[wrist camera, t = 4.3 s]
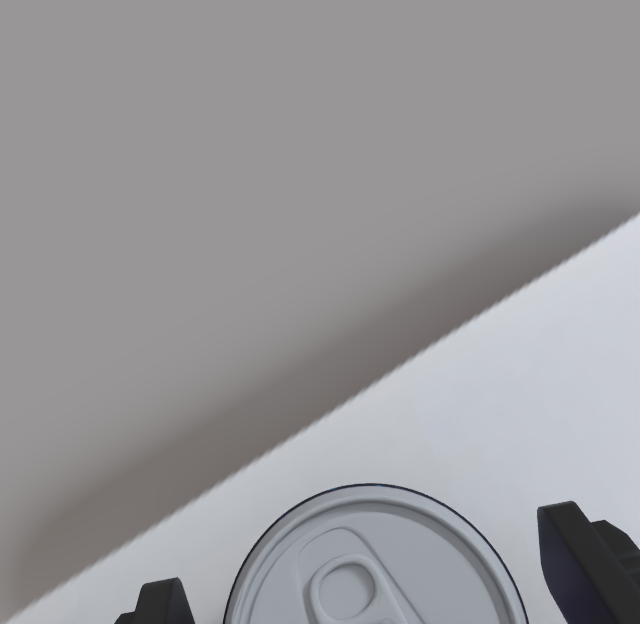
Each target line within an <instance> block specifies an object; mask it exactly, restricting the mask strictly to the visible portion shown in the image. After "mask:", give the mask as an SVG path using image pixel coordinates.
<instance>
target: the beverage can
mask: <svg viewBox="0 0 640 624" xmlns="http://www.w3.org/2000/svg"><path fill="white" fill-rule="evenodd" d="M223 624H529V621H528V617H527V614H526V610H525V607H524V604H523V601H522V599H521V596H520V593H519V591H518V588H517V586H516V584H515V582H514V580H513V578H512V576H511V574H510V572H509V570H508V569H507V567H506V565H505V564H504V562H503V561H502V559H501V557H500V556H499V554H498V553H497V552H496V550H495V549H494V548H493V546H492V545H491V544H490V543H489V542H488V540H487V539H486V538H485V537H484V536H483V535H482V534H481V533H480V532H479V531H478V530H477V529H476V528H475V527H474V526H473V525H472V524H471V523H470V522H469V521H468V520H466V519H465V518H464V517H463V516H461V515H460V514H459V513H457V512H456V511H455V510H453V509H452V508H450V507H448V506H447V505H445V504H444V503H442V502H440V501H438V500H436V499H434V498H432V497H430V496H428V495H425V494H423V493H420V492H417V491H415V490H411V489H408V488H404V487H400V486H394V485H388V484H375V483H365V484H353V485H346V486H342V487H337V488H333V489H330V490H327V491H324V492H321V493H319V494H316V495H314V496H312V497H310V498H308V499H306V500H304V501H302V502H301V503H299V504H297V505H296V506H294V507H293V508H291V509H290V510H288V511H287V512H286V513H284V514H283V515H282V516H281V517H280V518H278V519H277V520H276V521H275V522H274V523H273V524H272V525H271V526H270V527H269V528H268V529H267V530H266V531H265V532H264V534H263V535H262V536H261V537H260V538H259V540H258V541H257V542H256V543H255V545H254V546H253V548H252V549H251V551H250V552H249V554H248V555H247V557H246V559H245V560H244V562H243V564H242V566H241V568H240V570H239V572H238V574H237V576H236V578H235V581H234V584H233V586H232V589H231V592H230V595H229V598H228V601H227V605H226V610H225V614H224V619H223Z"/></svg>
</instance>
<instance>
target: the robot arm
mask: <svg viewBox="0 0 640 624" xmlns="http://www.w3.org/2000/svg"><path fill="white" fill-rule="evenodd" d="M537 520H538V532H539V545H540V558H541V566H542V571H543V575H544V578H545V581H546V584H547V586H548V588H549V591H550V593H551V595H552V596H553V598H554V600H555V602H556V604H557V605H558V607H559V609H560V611H561V613H562V614H563V616H564V618H565V620H566V621H567V623H568V624H640V550H639V548H638V547H637V546H636V545H635V543H634V542H633V541H632V540H631V539H630V537H629V536H628V535H627V534H626V533H624V532H623V531H621V530H620V529H618V528H616V527H615V526H613V525H612V524H610V523H609V522H607V521H605V520H601V521H596V522H591V523H590V521H589V520H588V519H587V517H586V516H585V515H584V513H583V512H582V511H581V509H580V508H579V507H578V505H577V504H576V503H575V502H573V501H567V502H562V503H557V504H552V505H547V506H542V507H539V508H538V510H537ZM114 624H195V622H194V619H193V616H192V613H191V609H190V606H189V603H188V600H187V597H186V594H185V591H184V588H183V585H182V582H181V580H180V579H179V578H178V577H176V578H171V579H166V580H161V581H156V582H151V583H146V584H144V585H143V586H142V588H141V591H140V594H139V598H138V602H137V605H136V609H135V611H134V612H129V613H124V614H121V615H120V616H119V618H118V619H117V620H116V622H115V623H114Z"/></svg>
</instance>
